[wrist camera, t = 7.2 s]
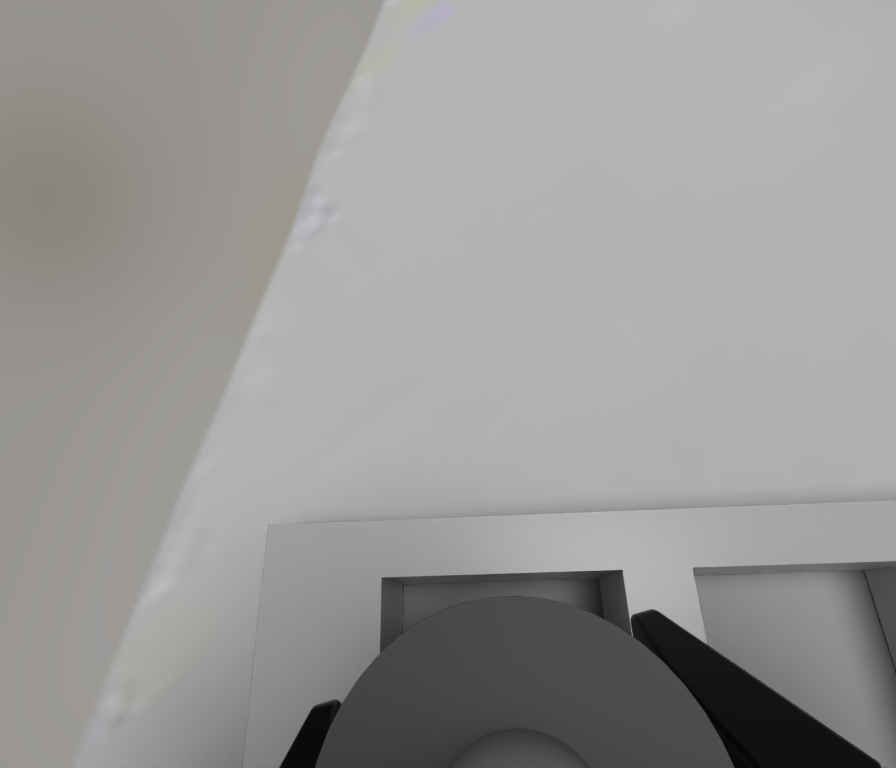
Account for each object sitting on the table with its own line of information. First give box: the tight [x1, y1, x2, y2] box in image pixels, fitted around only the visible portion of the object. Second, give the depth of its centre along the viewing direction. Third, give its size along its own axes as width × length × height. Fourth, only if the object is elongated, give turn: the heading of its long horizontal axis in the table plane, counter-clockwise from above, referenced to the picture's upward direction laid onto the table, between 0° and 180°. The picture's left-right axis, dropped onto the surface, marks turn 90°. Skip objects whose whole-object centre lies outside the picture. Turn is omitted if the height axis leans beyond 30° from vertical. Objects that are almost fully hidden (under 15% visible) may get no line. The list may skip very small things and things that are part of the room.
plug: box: [315, 596, 734, 768], centre depth 8 cm, size 5×5×14 cm
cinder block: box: [242, 500, 896, 768], centre depth 14 cm, size 10×21×4 cm, turn 91°
